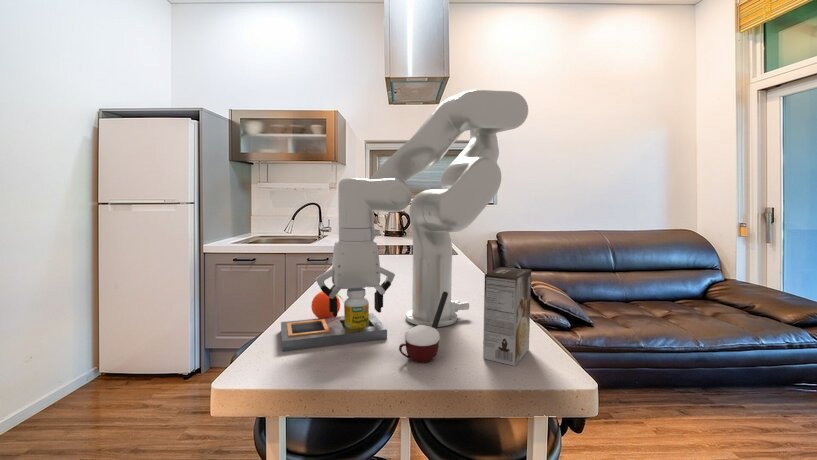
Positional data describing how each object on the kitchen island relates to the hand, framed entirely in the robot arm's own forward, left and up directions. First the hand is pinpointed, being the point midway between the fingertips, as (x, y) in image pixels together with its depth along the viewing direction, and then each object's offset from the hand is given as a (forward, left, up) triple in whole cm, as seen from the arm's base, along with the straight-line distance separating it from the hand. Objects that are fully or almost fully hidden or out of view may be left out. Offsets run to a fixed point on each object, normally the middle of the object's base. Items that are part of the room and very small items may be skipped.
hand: (356, 312), depth 84 cm
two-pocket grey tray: (+5, 0, -4) cm, 7 cm away
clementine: (+5, -11, -5) cm, 13 cm away
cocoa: (-9, +18, -5) cm, 20 cm away
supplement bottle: (0, 0, -4) cm, 4 cm away
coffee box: (-25, +21, -4) cm, 33 cm away
